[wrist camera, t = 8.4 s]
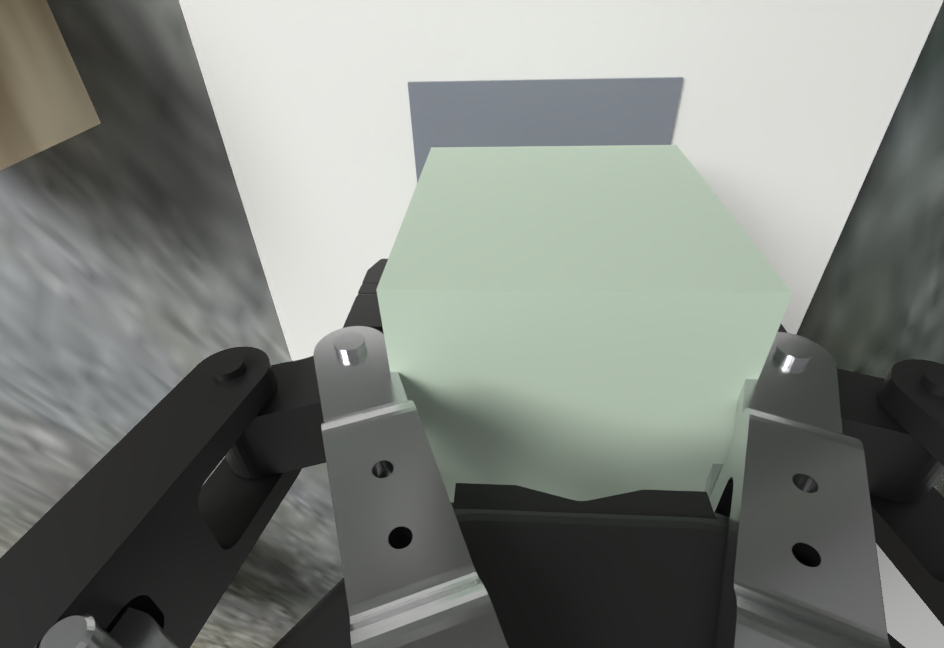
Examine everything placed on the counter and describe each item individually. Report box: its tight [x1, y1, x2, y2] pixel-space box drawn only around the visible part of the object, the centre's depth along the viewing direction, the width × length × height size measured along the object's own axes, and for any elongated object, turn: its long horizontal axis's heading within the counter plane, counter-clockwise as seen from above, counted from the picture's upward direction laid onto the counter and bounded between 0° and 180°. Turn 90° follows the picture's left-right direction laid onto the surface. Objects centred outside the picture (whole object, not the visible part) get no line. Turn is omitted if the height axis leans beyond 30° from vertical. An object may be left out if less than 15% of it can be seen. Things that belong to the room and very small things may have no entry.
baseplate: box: [179, 0, 943, 361], centre depth 16 cm, size 15×18×1 cm
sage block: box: [376, 145, 793, 502], centre depth 11 cm, size 6×6×6 cm
